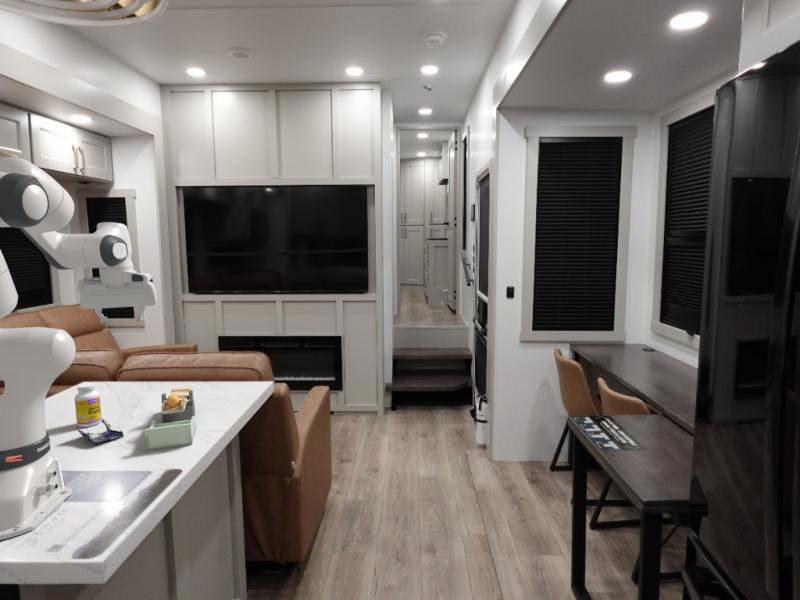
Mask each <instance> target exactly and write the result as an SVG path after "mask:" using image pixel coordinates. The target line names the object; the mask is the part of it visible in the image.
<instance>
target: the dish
mask: <svg viewBox="0 0 800 600" xmlns="http://www.w3.org/2000/svg"><path fill="white" fill-rule="evenodd" d="M196 430H197V423H196V415H195V416H192V419H191V420H184V421H176V422H168V423H162V422H161V423H157V420H152V422H151V424H150V427H149V428H145V429H144V433H143V434H144V440H145V441H144V443H145V451H146V452H149V451H155V450H157V451H158V450H163V449H169V448H176V447H177V448H178V447H182V446H183V447H184V446H191V445H193V441H194V438H195V434H196Z"/></svg>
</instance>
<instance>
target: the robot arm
mask: <svg viewBox="0 0 800 600" xmlns="http://www.w3.org/2000/svg"><path fill="white" fill-rule="evenodd" d="M74 212H75V202H74V200H73V198H72V196H71V195H70V194H69V192H68V191H67V190H66V189H65V188H64V187H63V186H62V185H61V184H60V183H58V181H57V180H56V179H54V178H53V177H52V176H51V175H50V174H49V173H47V172H46V171H44V170H43V169H42V168H40V167H39V166H37V165H35V164H34V163H33V162H31V161H29V160H27V159H24V158H22V157H16V156H10V157H9V156H7V157H3V158H1V159H0V228H14V229H19V230H20V231H21V232H22V233H23V234H24V235H25V236H26V238H28V239H29V240H30V241H31V242H32V243H33V244H34V245H35V246H36V247H37V248H38V249H39V250H40V252H41V253H42V254H43V255H44V257H45V259H46V260H47V262H48V263H49V264H50V265H51V266H52V267H53V268H56V269H57V270H60V271H65V270H77V269H99V270H98V271H99V272H98V273H99V277H97V276H96V277H84V278H82V279H80V280H78V282H77V289H78V291H79V307H80V308H81V309H83V310H94V313H95V314H96V315H97V316H98V318H99V320H100V324H107V323H108V316H104V314H103V313H102V311H103V309H114V308H128V307H129V308H130V307H131V308H132V307H138V309H139V310H140V312H139V313H138V314H135V321H136V322H139V321H140V322H141V321H143V314H144V313H145V310H146V307H147V306H155V305H156V304H157V303H158V293H157V290H156V286H155V284H154V283H153V282H152V281H151V279H152V275H151V274H150V273H148V272H143V271H139V270H135V269H134V264H133V261H132V254H133V249H132V241H131V236H130V232H129V228H128V226H127V225H125V224H124V223H121V222H118V221H116V222H115V221H101V222H99V223H97V224H96V231H94V232H93V233H61V232H58V230H61V229H62V228H64V227H65V226H67V225H68V224H69V223H70V221H71V220H72V219H73V216H74ZM18 299H19V294H18V293H17V289H16V286H15V284H14V281H13V278H12V275H11V272H10V269H9V267H8V264H7V262H6V259H5V257H4V254H3V253H2V250H1V249H0V320H1V319H3V318H5V317H6V316H7V315H9V314H10V313H11V312H13V311H14V310H15V308H17V304H18ZM76 349H77V347H76V344H75V341H74V338H73V337H72V336H71V335H70V334H69V333H68V332H67V331H66V330H64V329H59V328H53V327H43V326H32V327H31V326H30V327H29V326H28V327H15V328H14V327H11V328H4V327H3V328H1V327H0V381H3V382H4V390H3V394H0V541H1V540H7V539H10V538H13V537H17V536H21V535H22V534H25V533H28V532H30V531H31V532H32V530H34V529H35V528H36V527H38V526H39V525H40V524H41V523H42V522H43V521H44V520H45V519H46V518H48V516H50V515H51V514H52V513H53V512H54V511H55V510H56V509H57V508H58V507H60V505H61V504H62V503H64V502H65V501H66V500H67V499H68V498H69V497H70V496H71V495H72V494H73V490H72V487H67V486H65V483H64V479H63V472H62V467H61V464H60V460H59V459H58V457H55V456H54V455H53V454H52V453H51V439H50V435H49V433H48V432H47V427H46V414H45V412H46V411H45V407H46V405H45V403H46V398H47V394H48V393H49V389H50V387H51V386H52V384H53V383H54V382H55V380H56V379H57V378H58V377H59V376H61V374H63V373H65V372H66V371H67V370H68V369H69V368H70V366H71V365H72V364H73V362H74V361H75V357H76V351H77V350H76ZM68 496H69V497H68ZM67 497H68V498H67ZM66 498H67V499H66ZM65 499H66V500H65ZM64 500H65V501H64Z"/></svg>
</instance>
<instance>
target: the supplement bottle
mask: <svg viewBox="0 0 800 600" xmlns="http://www.w3.org/2000/svg"><path fill="white" fill-rule="evenodd" d="M77 391H78V393H77V394H76V395H75V396H74V404H75V405H74V407H75V417H76V425H77V427H79V428H89V427H94V426H97V425H98V424H100V423H102V422H101V420H102V419H103V418H102V406H101V396H100V393H99V391H97V390H96V383H93V382H90V383H89V382H87V383H82V384H78V385H77ZM98 420H99V421H98Z"/></svg>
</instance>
